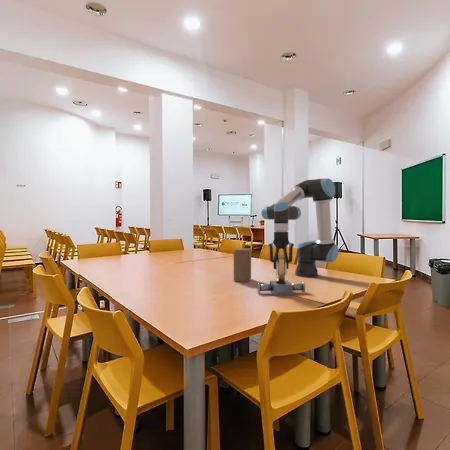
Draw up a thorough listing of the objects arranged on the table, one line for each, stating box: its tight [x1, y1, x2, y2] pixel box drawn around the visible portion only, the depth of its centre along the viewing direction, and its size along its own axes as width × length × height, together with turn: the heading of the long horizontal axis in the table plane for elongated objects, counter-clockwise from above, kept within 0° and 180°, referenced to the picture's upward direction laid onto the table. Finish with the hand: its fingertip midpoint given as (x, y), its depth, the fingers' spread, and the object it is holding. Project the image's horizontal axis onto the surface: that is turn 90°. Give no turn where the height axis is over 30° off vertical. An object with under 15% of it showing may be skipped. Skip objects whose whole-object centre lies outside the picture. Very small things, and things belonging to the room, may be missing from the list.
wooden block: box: [233, 247, 252, 283], centre depth 197 cm, size 10×10×20 cm
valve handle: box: [276, 254, 286, 282], centre depth 165 cm, size 5×5×14 cm
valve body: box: [256, 280, 306, 297], centre depth 165 cm, size 25×10×6 cm, turn 93°
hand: (280, 275), depth 165 cm, fingers closed on valve handle, 4 cm apart
